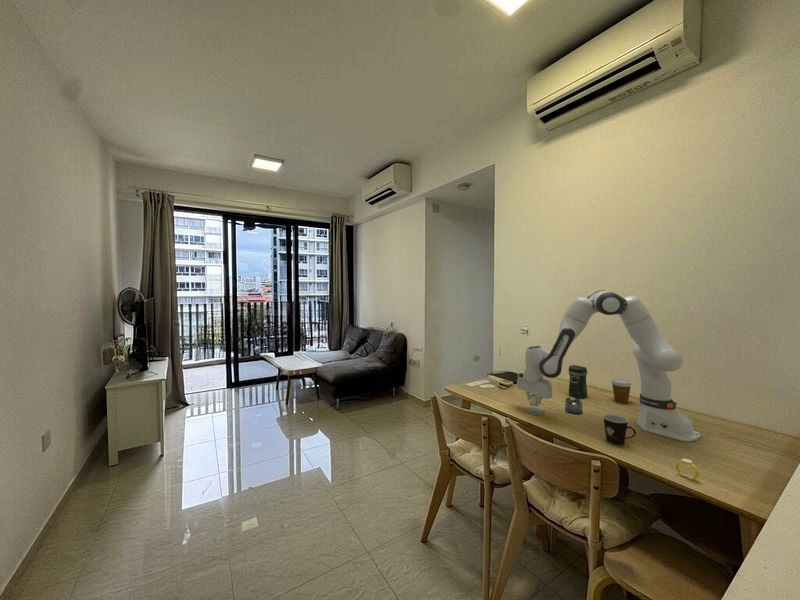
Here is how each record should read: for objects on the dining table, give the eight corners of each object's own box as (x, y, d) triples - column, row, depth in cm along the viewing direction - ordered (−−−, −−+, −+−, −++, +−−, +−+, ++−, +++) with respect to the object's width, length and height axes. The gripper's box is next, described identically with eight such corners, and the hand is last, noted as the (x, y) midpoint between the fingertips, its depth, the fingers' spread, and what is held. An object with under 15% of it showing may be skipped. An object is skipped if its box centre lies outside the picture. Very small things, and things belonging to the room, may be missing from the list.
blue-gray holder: (585, 412, 167) (585, 400, 167) (575, 415, 164) (575, 403, 163) (571, 407, 174) (571, 396, 174) (562, 410, 171) (561, 399, 171)
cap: (534, 406, 167) (534, 397, 166) (527, 404, 171) (527, 395, 170) (541, 405, 169) (541, 395, 169) (534, 402, 173) (534, 393, 173)
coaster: (548, 412, 168) (548, 412, 168) (535, 416, 163) (535, 415, 163) (533, 406, 177) (533, 406, 177) (520, 410, 172) (520, 409, 172)
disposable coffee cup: (634, 402, 180) (634, 381, 180) (627, 406, 175) (627, 384, 174) (615, 397, 188) (615, 377, 188) (608, 401, 183) (608, 380, 182)
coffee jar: (589, 397, 190) (589, 366, 189) (582, 399, 186) (582, 368, 185) (573, 392, 198) (573, 363, 198) (566, 395, 194) (566, 365, 194)
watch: (675, 474, 112) (673, 457, 112) (679, 472, 113) (678, 455, 113) (696, 482, 107) (694, 464, 107) (700, 480, 108) (699, 462, 108)
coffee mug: (599, 437, 140) (599, 414, 140) (618, 436, 140) (618, 414, 139) (616, 450, 128) (616, 426, 128) (637, 450, 128) (637, 426, 128)
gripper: (555, 380, 161) (555, 407, 162) (523, 371, 180) (523, 395, 180) (546, 382, 159) (546, 409, 159) (515, 372, 177) (515, 397, 177)
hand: (534, 401), depth 170 cm, fingers closed on cap, 4 cm apart
